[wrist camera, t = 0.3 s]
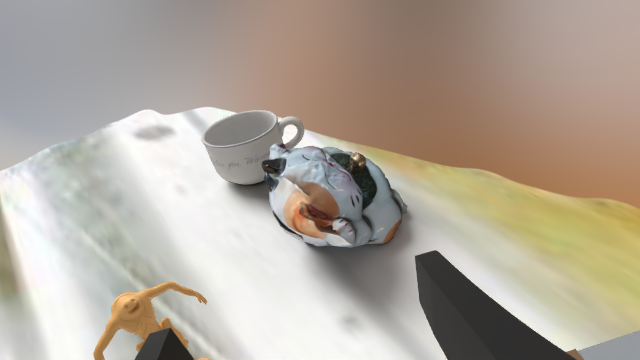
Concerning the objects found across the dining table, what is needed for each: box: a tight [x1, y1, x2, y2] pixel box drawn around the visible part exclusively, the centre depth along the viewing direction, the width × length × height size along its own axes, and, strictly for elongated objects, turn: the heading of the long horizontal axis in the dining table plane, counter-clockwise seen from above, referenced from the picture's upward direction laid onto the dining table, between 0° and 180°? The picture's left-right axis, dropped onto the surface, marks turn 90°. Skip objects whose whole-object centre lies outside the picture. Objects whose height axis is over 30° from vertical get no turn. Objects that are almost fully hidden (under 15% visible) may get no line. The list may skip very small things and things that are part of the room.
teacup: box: [202, 110, 304, 185], centre depth 53 cm, size 14×11×8 cm
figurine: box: [94, 282, 211, 360], centre depth 27 cm, size 8×6×12 cm
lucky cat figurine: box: [261, 143, 407, 248], centre depth 39 cm, size 15×12×14 cm
